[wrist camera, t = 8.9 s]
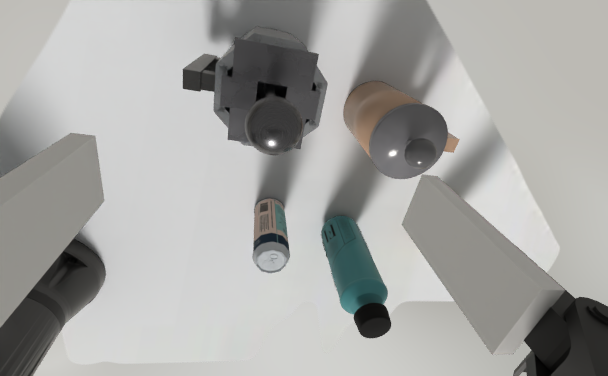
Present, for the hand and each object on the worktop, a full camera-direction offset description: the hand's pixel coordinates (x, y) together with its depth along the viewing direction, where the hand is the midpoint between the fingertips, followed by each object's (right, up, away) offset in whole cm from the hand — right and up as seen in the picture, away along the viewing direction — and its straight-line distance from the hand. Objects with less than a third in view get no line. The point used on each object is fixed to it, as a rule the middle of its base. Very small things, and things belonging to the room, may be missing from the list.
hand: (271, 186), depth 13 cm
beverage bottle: (+7, -6, +40) cm, 41 cm away
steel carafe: (-5, +15, +25) cm, 30 cm away
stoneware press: (+12, +11, +30) cm, 34 cm away
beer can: (-4, -3, +36) cm, 37 cm away
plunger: (-3, +13, +22) cm, 25 cm away
